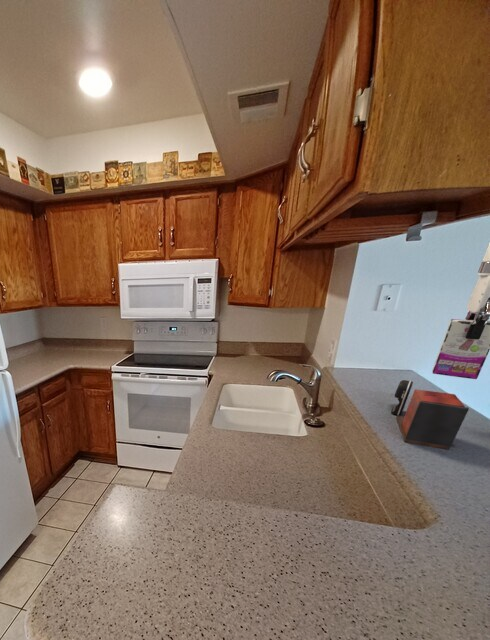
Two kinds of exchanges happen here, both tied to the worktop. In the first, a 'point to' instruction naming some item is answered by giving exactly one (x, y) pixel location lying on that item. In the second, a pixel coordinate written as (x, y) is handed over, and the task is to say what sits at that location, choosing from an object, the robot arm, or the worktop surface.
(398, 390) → the battery charger
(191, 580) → the worktop surface
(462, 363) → the candy bar box
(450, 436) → the wooden speaker
